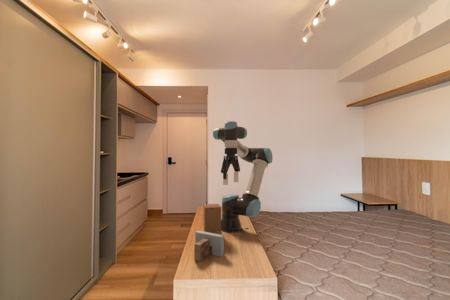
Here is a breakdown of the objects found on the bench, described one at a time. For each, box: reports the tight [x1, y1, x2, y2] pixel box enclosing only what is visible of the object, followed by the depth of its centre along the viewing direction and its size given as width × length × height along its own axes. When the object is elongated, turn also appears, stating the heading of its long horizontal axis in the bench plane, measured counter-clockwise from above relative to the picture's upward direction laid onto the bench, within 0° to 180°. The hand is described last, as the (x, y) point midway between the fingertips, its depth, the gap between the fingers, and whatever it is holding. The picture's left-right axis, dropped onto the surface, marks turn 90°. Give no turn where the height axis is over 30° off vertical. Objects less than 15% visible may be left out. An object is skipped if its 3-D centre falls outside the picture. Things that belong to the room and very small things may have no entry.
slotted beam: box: [193, 230, 223, 262], centre depth 122 cm, size 22×3×8 cm, turn 151°
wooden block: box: [203, 203, 222, 233], centre depth 144 cm, size 10×10×20 cm
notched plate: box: [194, 230, 225, 257], centre depth 122 cm, size 3×16×10 cm, turn 61°
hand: (231, 183), depth 136 cm, fingers open, 13 cm apart
